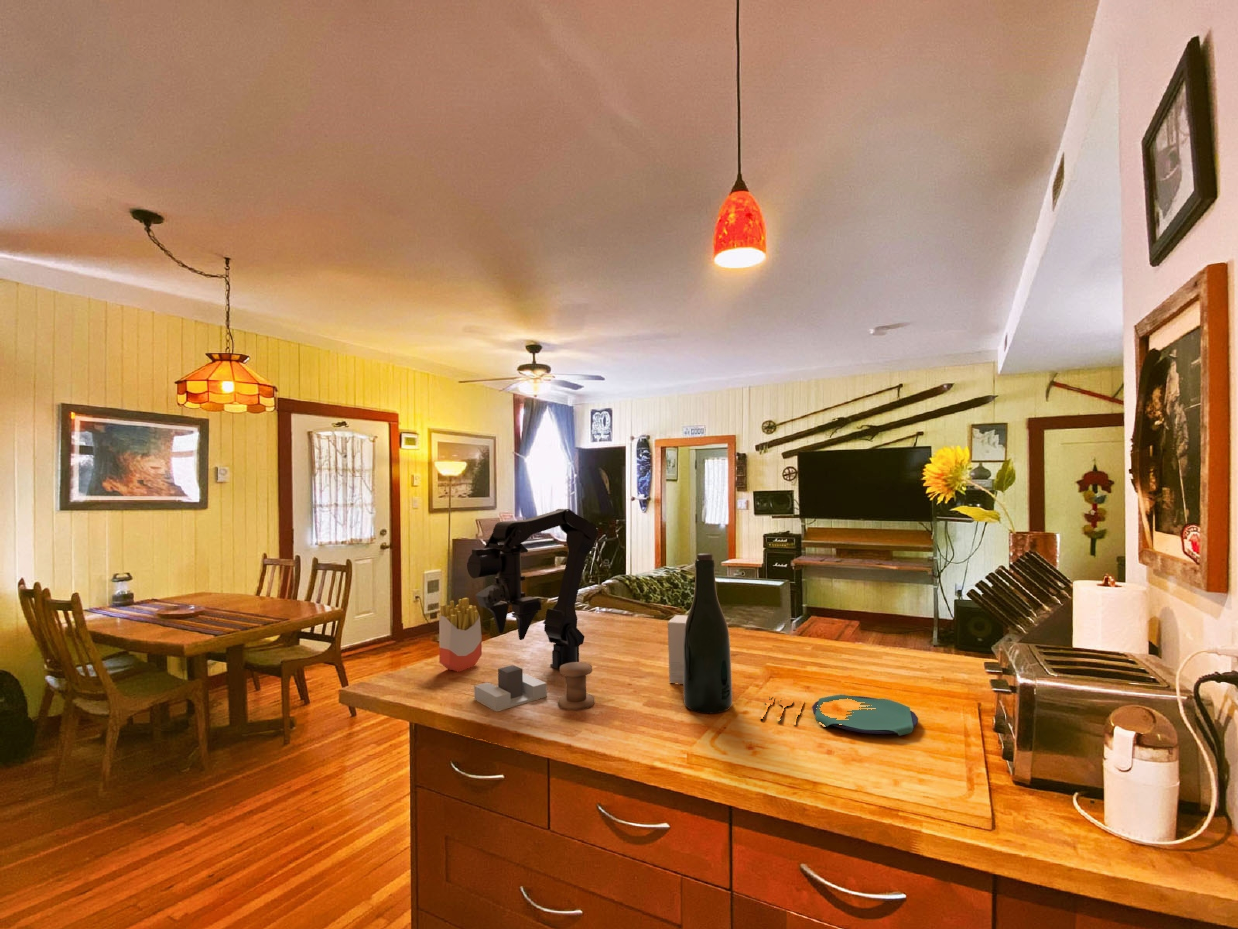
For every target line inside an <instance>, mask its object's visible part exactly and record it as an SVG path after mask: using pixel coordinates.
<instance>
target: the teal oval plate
mask: <svg viewBox="0 0 1238 929" xmlns="http://www.w3.org/2000/svg"><path fill="white" fill-rule="evenodd" d="M847 698H848V699H852V700H855V701H857V702H865V703H861V704H860V705H870V706H868V707H867V706H866V707H861V708H876V709H872V710H871V709H868V710H867V709H861V710H860V709H859V710H852V711H847V712H852V713H850V714H846V715H852V716H848V717H846V718H845V719H849V720H836V719H837V718H830V717H828V716H825V715H824V714H822V713H821V712H822V711H820V709H819V708H821V707H820V705H822V704H823V702H829V701H833V700H839V699H847ZM817 705H818V706H817ZM871 705H872V706H871ZM811 708H812V712H813V715H814V716H815V720H816V722H817V721H818V722H821V723H822V724H824V725H825V726H827V727H828V726H833V727H836V728H839V729H843V730H846V731H850V732H856V733H863V734H876V735H886V734H887V735H889V734H898V736H899V737H900V736H904V735H909V734H912V732H913V730H914V728H915V727H917V726H918V722H919V717H918V715H916V713H915V712H914V711H912V710H911V708H910V706H908V705H905V704H903V703H901V702H898V701H894V700H892V699H888V698H877V697H869V696H864V695H863V696H861V695H847V694H833V695H830V696H824V697H821V698H818V700H817V701H815V702H814V704H813V705H812V707H811ZM816 708H817V709H816ZM859 708H860V707H859ZM853 712H854V713H853ZM780 719H781V717H780ZM781 720H782V719H781ZM818 722H817V723H818ZM839 724H842V725H839Z"/></svg>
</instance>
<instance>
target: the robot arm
mask: <svg viewBox="0 0 1238 929" xmlns="http://www.w3.org/2000/svg"><path fill="white" fill-rule="evenodd" d="M556 527H559V528H560V530H561V532H563V533H565V534H566V538H565V539H566V540H565V541H566V546H567V549H568V554H567V559H566V563H565V567H564V572H563V574H562V575H563V576H562V580H561V584H560V588H559V592H558V596H557V601H556V604H555V605H554V606H553V607H552V608H547V609H546V614H545V619H544V621H543V623H542V624H543V625H544V628H543V629H544V632H545V635H546V636H547V638H548V642H549V643H551V644H552V643H553V645H552V648H553V650H552V651H551V654H552V655H551V656H552V657H551V660H552V661H551V663H550V667H552V668H553V669H557V670H559V671H560V666H561V665H563V664H566V663H570V662H580V646H582V645H583V644H584V642H585V635H584V633H582V632H581V631H580V630H579V629H578V616H577V612H576V609H575V608H576V603H577V599H578V598H577V597H578V596H579V595H578V593H579V589H580V585H581V581H582V577H583V572H584V566H585V564H586V559H587V556H588V554H589V553H590V551H592V549H593V548H594V547H595V544H596V541H597V539H598V536H599V530H598V528H597V526H596V524H595V523H593V522H590V521H589V520H588V519H586V518H584V517H582V516H580V515H579V514H577V513H576V512H575V511H573V510H571V509H569V508H557V509H556V510H553V511H550V512H545V513H544V514H539V515H537V516H536V515H535V516H533V517H529V518H527V519H522V520H520V519H519V520H507V521H504V520H503V521H502V520H501V521H498V522H496V523H495V525H494V527H493V530H492V533H491V534H490V536H489V538H488V540H487V541H486V543H485V546H483V548H472V549H471V554H470V555H469V557H468V560H467V563H466V570H467V572H468V575H469V576H470V578H472V579H480V578H487V577H491V576H495V577H494V578H493V579H492V580H493V583H492V584H491V585H489V586H486V587H485V588H483V589H481V590H479V592H477V593H476V594H475V597H476V600H477V603H478V605H479V608H482V607H483V608H484V609H487V610H488V611H489V612H491V615H492V617H493V620H494V623H495V626H496V628H497V632H498V633H499V634H503V633H504V630H505V628H506V623H507V618H508V617H507V616H508V613H509V612H508V611H509V606H511V609H512V612H511V615H512V616H513V617H514V618H515V619H516V624H517V627H516V628H517V634H518V640H520V641H522V640H524V639H525V637H526V635H527V633H528V630H529V628H530V627H531V626H530V625H531V624H532V622H533V620H534V617H535V616H536V614H538V613H539V611H541V610H542V600H540V598H539V597H538V598H537V597H534V596H526V592H524V591H522V586H523V585H522V582H523V581H526V577H525V576H524V575H522V557H521V556H522V554H524V553H525V554H526V553H528V552H529V549H527V548H526V546H524V545H523V543H524V542H526V541H528V540H529V539H530V537H531V536H534V535H535V534H539V533H543V532H544V531H548V530H551V529H554V528H556ZM496 575H497V576H496Z"/></svg>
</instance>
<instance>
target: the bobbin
mask: <svg viewBox="0 0 1238 929" xmlns="http://www.w3.org/2000/svg"><path fill="white" fill-rule="evenodd" d="M592 672H593V665H592V664H591V663H589V662H583V661H579V662H570V663H566V664H563V665H561V666H560V670H559V674H561V675H562V676H565V679H566V680H565V682H566V684H565V686H566V688H565V690H566V693H565V694H562V695H561V696H559V697H558V698H557V699H558V700H557V701H558V702H557V705H558V707H559V708H561V709H562V710H563V709H564V710H568V711H580V710H585V709H586V710H587V709H589V708H591V707H594V705H595V696H594V695H593V694H591V693H588V692H587V675H591V674H592Z"/></svg>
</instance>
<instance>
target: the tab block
mask: <svg viewBox="0 0 1238 929" xmlns="http://www.w3.org/2000/svg"><path fill="white" fill-rule="evenodd" d="M523 670H524V669H523V668H522V667H519V666H516V665H514V664H512V665H508V666H504V667H500V668H498V669H497V686H498V687H499V688H501V689H503V690H505V691H507V692H509V693H510V694H511V699H512V698H516V697H519V696H522V695H523V673H524V672H523Z"/></svg>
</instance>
